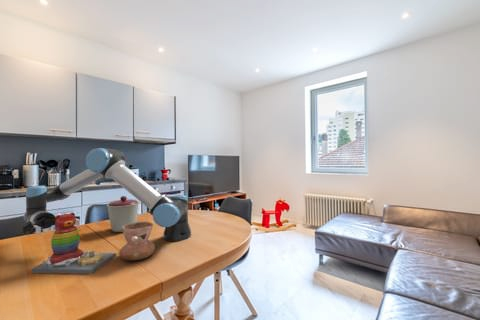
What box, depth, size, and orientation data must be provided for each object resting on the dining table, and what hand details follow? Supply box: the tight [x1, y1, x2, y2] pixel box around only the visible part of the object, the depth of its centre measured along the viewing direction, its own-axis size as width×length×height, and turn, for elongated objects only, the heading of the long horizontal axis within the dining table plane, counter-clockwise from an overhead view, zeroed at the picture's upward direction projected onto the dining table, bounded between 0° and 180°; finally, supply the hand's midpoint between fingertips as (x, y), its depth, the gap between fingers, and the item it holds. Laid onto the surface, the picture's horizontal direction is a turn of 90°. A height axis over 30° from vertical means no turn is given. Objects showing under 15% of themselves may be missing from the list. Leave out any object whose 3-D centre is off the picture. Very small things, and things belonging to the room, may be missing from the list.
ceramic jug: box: [118, 221, 156, 262], centre depth 97 cm, size 18×14×14 cm
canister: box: [106, 195, 140, 233], centre depth 136 cm, size 18×18×21 cm
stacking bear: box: [50, 212, 84, 263], centre depth 91 cm, size 11×10×18 cm
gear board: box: [30, 250, 117, 275], centre depth 91 cm, size 24×15×5 cm, turn 87°
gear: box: [42, 248, 89, 269], centre depth 91 cm, size 15×15×2 cm
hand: (60, 226), depth 93 cm, fingers open, 13 cm apart
